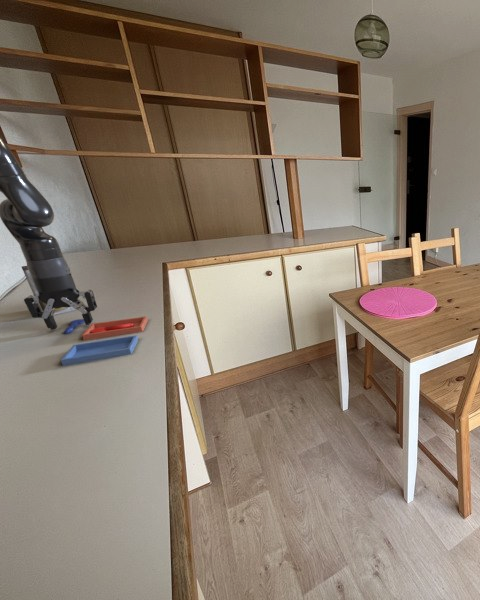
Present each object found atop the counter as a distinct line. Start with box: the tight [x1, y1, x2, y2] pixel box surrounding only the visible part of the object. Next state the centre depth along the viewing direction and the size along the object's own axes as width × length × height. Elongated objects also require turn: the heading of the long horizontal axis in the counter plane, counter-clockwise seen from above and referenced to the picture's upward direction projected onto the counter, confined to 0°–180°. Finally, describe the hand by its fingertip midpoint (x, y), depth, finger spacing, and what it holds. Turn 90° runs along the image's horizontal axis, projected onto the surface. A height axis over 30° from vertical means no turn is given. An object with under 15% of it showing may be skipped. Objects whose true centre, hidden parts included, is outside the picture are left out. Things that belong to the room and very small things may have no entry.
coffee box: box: [21, 265, 80, 316], centre depth 102 cm, size 9×6×16 cm
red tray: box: [81, 316, 149, 341], centre depth 93 cm, size 13×8×2 cm, turn 118°
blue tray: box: [60, 334, 139, 367], centre depth 82 cm, size 13×8×2 cm, turn 118°
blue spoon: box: [63, 318, 85, 335], centre depth 94 cm, size 10×3×1 cm, turn 28°
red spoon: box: [91, 323, 134, 333], centre depth 93 cm, size 10×3×1 cm, turn 118°
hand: (72, 326), depth 93 cm, fingers open, 7 cm apart
